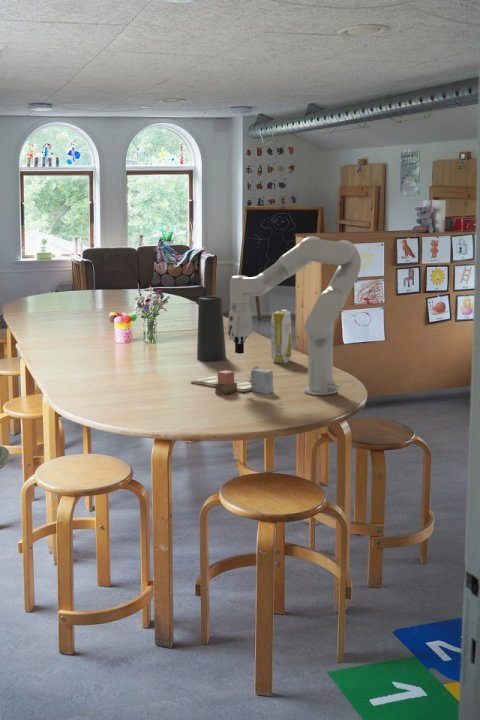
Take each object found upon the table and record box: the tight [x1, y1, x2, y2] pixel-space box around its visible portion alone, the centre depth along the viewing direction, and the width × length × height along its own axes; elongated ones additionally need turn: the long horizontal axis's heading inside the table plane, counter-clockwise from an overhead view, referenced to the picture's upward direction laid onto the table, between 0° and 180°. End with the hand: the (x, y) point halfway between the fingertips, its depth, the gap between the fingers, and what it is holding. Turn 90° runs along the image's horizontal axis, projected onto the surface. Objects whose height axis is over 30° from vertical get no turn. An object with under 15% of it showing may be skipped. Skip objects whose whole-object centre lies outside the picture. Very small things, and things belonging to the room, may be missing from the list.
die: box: [217, 369, 235, 385], centre depth 345 cm, size 4×4×4 cm
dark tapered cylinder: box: [196, 295, 227, 362], centre depth 413 cm, size 14×14×29 cm
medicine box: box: [250, 368, 274, 395], centre depth 347 cm, size 8×4×9 cm, turn 47°
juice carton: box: [270, 309, 292, 364], centre depth 403 cm, size 9×8×24 cm
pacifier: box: [247, 365, 260, 382], centre depth 366 cm, size 7×6×6 cm
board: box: [190, 375, 252, 395], centre depth 359 cm, size 29×13×1 cm, turn 48°
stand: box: [214, 382, 238, 396], centre depth 346 cm, size 6×6×4 cm
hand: (239, 353), depth 351 cm, fingers closed
